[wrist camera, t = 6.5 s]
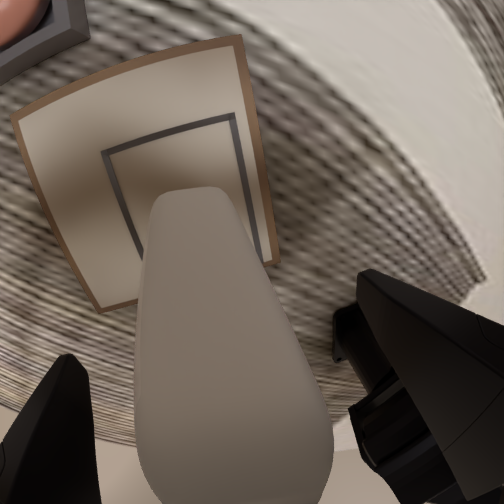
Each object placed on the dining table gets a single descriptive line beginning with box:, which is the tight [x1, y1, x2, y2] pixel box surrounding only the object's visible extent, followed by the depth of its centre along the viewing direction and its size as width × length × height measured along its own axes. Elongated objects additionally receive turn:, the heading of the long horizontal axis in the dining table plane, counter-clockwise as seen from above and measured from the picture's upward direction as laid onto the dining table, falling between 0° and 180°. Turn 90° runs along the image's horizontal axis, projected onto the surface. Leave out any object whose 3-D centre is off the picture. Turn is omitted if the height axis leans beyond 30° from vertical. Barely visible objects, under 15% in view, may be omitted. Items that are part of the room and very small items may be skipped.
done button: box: [0, 0, 50, 51], centre depth 5 cm, size 4×4×2 cm
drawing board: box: [10, 34, 281, 314], centre depth 13 cm, size 12×11×2 cm
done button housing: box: [0, 0, 90, 86], centre depth 6 cm, size 6×6×3 cm
